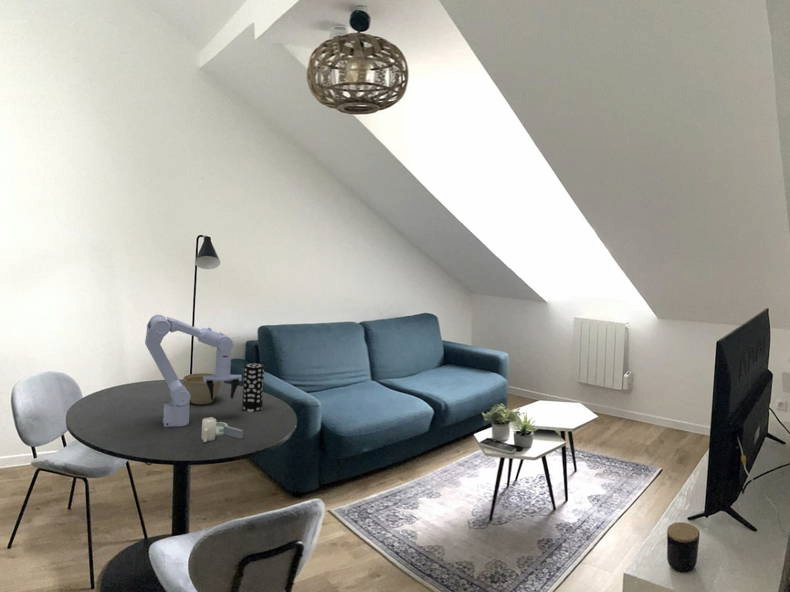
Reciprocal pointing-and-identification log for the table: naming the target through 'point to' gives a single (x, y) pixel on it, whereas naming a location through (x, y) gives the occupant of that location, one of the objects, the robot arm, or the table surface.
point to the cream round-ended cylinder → (208, 429)
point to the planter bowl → (200, 388)
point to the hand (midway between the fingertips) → (221, 398)
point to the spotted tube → (253, 387)
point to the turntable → (228, 430)
